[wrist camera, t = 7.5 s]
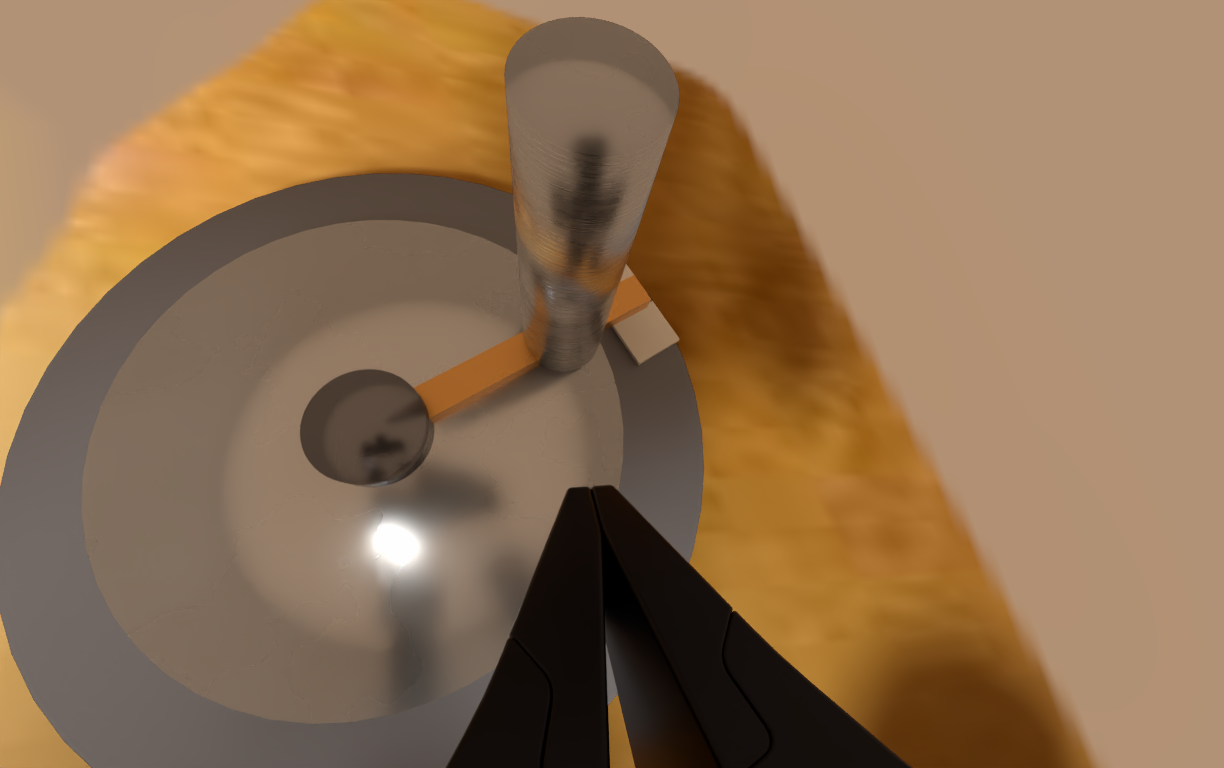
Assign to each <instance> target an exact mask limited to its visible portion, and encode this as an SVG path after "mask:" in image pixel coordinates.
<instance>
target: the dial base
mask: <svg viewBox="0 0 1224 768" xmlns="http://www.w3.org/2000/svg"><path fill="white" fill-rule="evenodd" d="M365 220H403V221H413V222H423V223H430V224H435V225H440V226H444V227H449V228H454V229H458V230H461V231H464V232H467V233H470V234H473V235H476V236H479V237H482V238H484V239H486V240H489V241H491V242H493V243H495V244H497V245H499V246H502V247H504V248H506V249H508V250H510V251H511V252H513V253H515V254H516V255H517V241H516V227H515V213H514V199H513V194H510V193H507V192H504V191H501V190H497V189H494V188H491V187H488V186H485V185H482V184H477V183H472V182H467V181H463V180H458V179H453V178H448V177H439V176H429V175H419V174H365V175H355V176H346V177H336V178H330V179H326V180H321V181H316V182H311V183H306V184H301V185H296V186H293V187H290V188H286V189H283V190H280V191H277V192H274V193H271V194H267V195H264V196H261V197H258V198H255V199H253V200H250V201H248V202H246V203H243V204H241V205H239V206H236V207H234V208H232V209H229V210H227V211H225V212H222V213H220V214H218V215H216V216H214V217H212V218H210V219H208V220H207V221H205V222H203V223H201V224H200V225H198V226H196V227H194V228H192V229H191V230H189V231H187V232H185V233H183V234H182V235H180V236H178V237H177V238H175V239H174V240H172V241H171V242H170V243H168V244H167V245H165V246H164V247H162V248H161V249H160V250H158V251H157V252H155V253H154V254H153V255H151V256H150V257H148V258H147V259H145V260H144V261H143V262H141V263H140V264H139V265H138V266H137V267H136V268H134V269H133V270H132V271H131V272H130V273H129V274H128V275H127V276H125V277H124V278H123V279H122V280H121V281H120V282H119V283H117V284H116V285H115V286H114V287H113V288H112V289H111V290H110V291H108V292H107V293H106V294H105V295H104V297H103V298H102V299H101V300H100V301H99V302H98V303H97V304H96V305H95V307H94V308H93V309H92V310H91V311H90V312H89V313H88V314H87V315H86V316H85V318H84V319H83V320H82V321H81V322H80V323H79V324H78V325H77V326H76V328H75V329H74V330H73V332H72V333H71V335H70V336H69V337H68V339H67V340H66V342H65V343H64V344H63V346H62V347H61V349H60V350H59V351H58V353H57V354H56V356H55V357H54V358H53V360H52V361H51V363H50V364H49V366H48V367H47V369H46V371H45V373H44V374H43V376H42V378H41V380H40V382H39V384H38V386H37V388H36V389H35V391H34V393H33V395H32V397H31V399H30V401H29V402H28V404H27V406H26V408H25V410H24V413H23V415H22V418H21V421H20V423H19V426H18V429H17V431H16V434H15V437H14V439H13V442H12V445H11V447H10V450H9V453H8V455H7V459H6V464H5V468H4V473H3V477H2V482H1V486H0V614H1V617H2V621H3V625H4V628H5V632H6V635H7V639H8V643H9V646H10V650H11V654H12V656H13V658H14V660H15V662H16V664H17V666H18V668H19V670H20V672H21V675H22V677H23V679H24V681H25V683H26V685H27V687H28V689H29V691H30V693H31V695H32V697H33V700H34V701H35V702H36V704H37V705H38V707H39V708H40V709H41V711H42V712H43V713H44V715H45V716H46V717H47V719H48V720H49V722H50V723H51V724H52V726H53V727H54V728H55V730H56V731H57V733H58V734H59V735H60V737H61V738H62V739H63V741H64V742H65V743H66V744H67V745H68V746H69V747H70V748H71V749H72V750H74V751H75V752H76V753H77V754H78V755H79V756H80V757H81V758H82V759H83V760H84V761H85V762H86V763H87V764H88V765H89V766H91V767H92V768H446V766H447V764H448V762H449V760H450V758H451V757H452V755H453V753H454V751H455V749H456V747H457V746H458V744H459V742H460V740H461V738H462V736H463V734H464V732H465V731H466V729H467V727H468V725H469V723H470V721H471V719H472V717H473V715H474V713H475V711H476V709H477V707H478V705H479V703H480V701H481V699H482V697H483V695H484V693H485V690H486V688H487V686H488V684H489V681H490V679H491V677H492V675H493V672H494V670H495V669H493V670H492V671H490V672H488V673H487V674H485V675H484V676H482V677H481V678H479V679H477V680H476V681H474V682H473V683H471V684H470V685H468V686H465V687H463V688H461V689H459V690H457V691H455V692H453V693H451V694H448V695H446V696H444V697H442V698H440V699H438V700H436V701H434V702H431V703H428V704H425V705H422V706H419V707H416V708H412V709H409V710H406V711H403V712H400V713H397V714H394V715H389V716H383V717H378V718H372V719H367V720H361V721H356V722H342V723H318V724H309V723H299V722H290V721H280V720H271V719H267V718H263V717H259V716H255V715H251V714H248V713H244V712H240V711H236V710H232V709H230V708H228V707H225V706H223V705H221V704H218V703H216V702H214V701H212V700H209V699H207V698H205V697H203V696H200V695H198V694H196V693H194V692H193V691H191V690H190V689H188V688H187V687H185V686H184V685H182V684H181V683H179V682H177V681H176V680H174V679H173V678H171V677H170V676H168V675H167V674H165V673H164V672H162V671H161V670H160V669H159V668H158V667H157V666H156V665H155V664H154V663H153V662H152V661H151V660H150V659H149V658H148V657H147V656H146V655H144V654H143V653H142V652H141V651H140V650H139V649H138V648H137V647H136V646H135V645H134V643H133V642H132V641H131V639H130V638H129V637H128V635H127V634H126V633H125V631H124V630H123V629H122V627H121V626H120V625H119V623H118V622H117V621H116V619H115V618H114V617H113V615H112V613H111V611H110V609H109V607H108V605H107V603H106V601H105V599H104V597H103V595H102V593H101V591H100V589H99V587H98V585H97V583H96V580H95V576H94V573H93V570H92V566H91V563H90V560H89V556H88V553H87V550H86V544H85V536H84V528H83V520H82V512H81V509H82V482H83V471H84V466H85V461H86V456H87V450H88V445H89V440H90V437H91V434H92V431H93V428H94V425H95V422H96V419H97V416H98V413H99V410H100V408H101V405H102V403H103V401H104V399H105V397H106V395H107V393H108V391H109V389H110V387H111V385H112V383H113V381H114V379H115V377H116V375H117V373H118V371H119V370H120V368H121V367H122V365H123V364H124V362H125V361H126V359H127V358H128V356H129V355H130V353H131V352H132V351H133V349H134V348H135V346H136V345H137V343H138V342H139V341H140V340H141V338H142V337H143V336H144V335H145V334H146V333H147V331H148V330H149V329H150V328H151V327H152V326H153V324H154V323H155V322H156V321H157V320H158V319H159V318H160V316H161V315H162V314H163V313H165V312H166V311H167V310H168V309H169V308H170V307H171V306H172V305H173V304H174V303H175V302H176V301H178V300H179V299H180V298H181V297H182V296H183V295H184V294H185V293H186V292H187V291H189V290H190V289H192V288H193V287H194V286H196V285H197V284H198V283H200V282H201V281H202V280H204V279H205V278H207V277H208V276H209V275H211V274H212V273H213V272H215V271H216V270H218V269H220V268H222V267H223V266H225V265H227V264H228V263H230V262H232V261H234V260H235V259H237V258H239V257H240V256H242V255H244V254H246V253H248V252H250V251H253V250H255V249H257V248H259V247H262V246H264V245H266V244H268V243H271V242H273V241H275V240H278V239H281V238H284V237H287V236H290V235H293V234H296V233H299V232H302V231H306V230H310V229H315V228H319V227H324V226H328V225H333V224H338V223H347V222H356V221H365ZM633 275H634V274H633V273H632V271H631V270H630V268H629V267H628V266H627V264H626V266H625V269H624V272H623V275H622V278H621V280H620V282H621V281H623V280H625V279H627V278H629V277H631V276H633ZM644 290H645V289H644ZM646 293H647V292H646ZM648 295H649V294H648ZM649 297H650V296H649ZM650 298H651V297H650ZM679 340H680V339H679V337H678V336H677V334H676V333H675V332H674V330H673V329H672V327H671V326H670V325H669V323H668V322H667V320H666V319H665V318H664V316H663V315H662V313H661V312H660V311H659V309H658V308H657V306H656V305H655V303H654V302H653V301H652V298H651V300H650V302H649V304H648V306H647V308H645V309H643V310H641V311H640V312H638V313H636V314H634V315H632V316H630V317H628V318H627V319H625V320H623V321H621V322H619V323H617V324H616V325H614V326H612V327H610V328H608V329H606V330H604V331H603V334H602V337H601V340H600V343H601V345H602V347H603V350H604V352H605V355H606V357H607V360H608V362H609V364H610V367H611V369H612V372H613V376H614V380H615V383H616V387H617V391H618V395H619V399H620V406H621V414H622V422H623V462H622V470H621V477H620V484H619V490H618V491H619V492H620V493H621V494H622V495H623V496H624V497H625V498H626V499H627V500H628V501H629V502H630V503H631V504H632V505H633V506H634V507H635V508H636V509H637V510H638V511H639V512H640V513H641V515H642V516H643V517H644V518H645V519H646V520H647V521H648V522H649V523H650V524H651V525H652V526H653V527H654V528H655V529H656V530H657V531H658V532H659V533H660V534H661V535H662V536H663V537H664V538H665V539H666V540H667V541H668V542H669V543H670V544H671V545H672V546H673V547H674V548H675V549H676V550H677V551H678V552H679V553H680V554H681V556H682V557H683V558H684V559H685V560H686V561H687V562H688V563H689V561H690V558H691V555H692V552H693V548H694V543H695V538H696V533H697V528H698V523H699V518H700V512H701V504H702V490H703V475H704V462H703V444H702V429H701V424H700V418H699V413H698V408H697V402H696V397H695V393H694V389H693V386H692V383H691V380H690V377H689V374H688V371H687V367H686V364H685V361H684V359H683V356H682V354H681V352H680V350H679V348H678V346H677V343H676V342H678V341H679ZM606 665H607V695H608V705H609V704H610V702H611V701H612V700H613V699H614V697H615V696H616V695H617V694H618V692H617V687H616V683H615V679H614V675H613V670H612V666H611V662H610V658H609V654H608V649H607V645H606Z"/></svg>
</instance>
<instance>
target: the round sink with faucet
mask: <svg viewBox="0 0 1224 768" xmlns="http://www.w3.org/2000/svg"><path fill="white" fill-rule="evenodd" d="M505 88H506V102H507V116H508V130H509V144H510V158H511V171H512V185H513V199H514V213H515V227H516V241H517V255H516V254H515V253H513V252H511V251H510V250H508V249H506V248H504V247H502V246H499V245H497V244H495V243H493V242H491V241H489V240H486V239H484V238H482V237H479V236H476V235H473V234H470V233H467V232H464V231H461V230H458V229H454V228H449V227H444V226H440V225H435V224H430V223H423V222H413V221H403V220H365V221H356V222H347V223H338V224H333V225H328V226H324V227H319V228H315V229H310V230H306V231H302V232H299V233H296V234H293V235H290V236H287V237H284V238H281V239H278V240H275V241H273V242H271V243H268V244H266V245H264V246H262V247H259V248H257V249H255V250H253V251H250V252H248V253H246V254H244V255H242V256H240V257H239V258H237V259H235V260H234V261H232V262H230V263H228V264H227V265H225V266H223V267H222V268H220V269H218V270H216V271H215V272H213V273H212V274H211V275H209V276H208V277H207V278H205V279H204V280H202V281H201V282H200V283H198V284H197V285H196V286H194V287H193V288H192V289H190V290H189V291H187V292H186V293H185V294H184V295H183V296H182V297H181V298H180V299H179V300H178V301H176V302H175V303H174V304H173V305H172V306H171V307H170V308H169V309H168V310H167V311H166V312H165V313H163V314H162V315H161V316H160V318H159V319H158V320H157V321H156V322H155V323H154V324H153V326H152V327H151V328H150V329H149V330H148V331H147V333H146V334H145V335H144V336H143V337H142V338H141V340H140V341H139V342H138V343H137V345H136V346H135V348H134V349H133V351H132V352H131V353H130V355H129V356H128V358H127V359H126V361H125V362H124V364H123V365H122V367H121V368H120V370H119V371H118V373H117V375H116V377H115V379H114V381H113V383H112V385H111V387H110V389H109V391H108V393H107V395H106V397H105V399H104V401H103V403H102V405H101V408H100V410H99V413H98V416H97V419H96V422H95V425H94V428H93V431H92V434H91V437H90V440H89V445H88V450H87V456H86V461H85V466H84V471H83V482H82V509H81V512H82V520H83V528H84V536H85V544H86V550H87V553H88V556H89V560H90V563H91V566H92V570H93V573H94V576H95V580H96V583H97V585H98V587H99V589H100V591H101V593H102V595H103V597H104V599H105V601H106V603H107V605H108V607H109V609H110V611H111V613H112V615H113V617H114V618H115V619H116V621H117V622H118V623H119V625H120V626H121V627H122V629H123V630H124V631H125V633H126V634H127V635H128V637H129V638H130V639H131V641H132V642H133V643H134V645H135V646H136V647H137V648H138V649H139V650H140V651H141V652H142V653H143V654H144V655H146V656H147V657H148V658H149V659H150V660H151V661H152V662H153V663H154V664H155V665H156V666H157V667H158V668H159V669H160V670H161V671H162V672H164V673H165V674H167V675H168V676H170V677H171V678H173V679H174V680H176V681H177V682H179V683H181V684H182V685H184V686H185V687H187V688H188V689H190V690H191V691H193V692H194V693H196V694H198V695H200V696H203V697H205V698H207V699H209V700H212V701H214V702H216V703H218V704H221V705H223V706H225V707H228V708H230V709H232V710H236V711H240V712H244V713H248V714H251V715H255V716H259V717H263V718H267V719H271V720H280V721H290V722H299V723H309V724H318V723H342V722H356V721H361V720H367V719H372V718H378V717H383V716H389V715H394V714H397V713H400V712H403V711H406V710H409V709H412V708H416V707H419V706H422V705H425V704H428V703H431V702H434V701H436V700H438V699H440V698H442V697H444V696H446V695H448V694H451V693H453V692H455V691H457V690H459V689H461V688H463V687H465V686H468V685H470V684H471V683H473V682H474V681H476V680H477V679H479V678H481V677H482V676H484V675H485V674H487V673H488V672H490V671H492V670H493V669H495V668H496V665H497V663H498V661H499V658H500V656H501V653H502V651H503V648H504V646H505V643H506V641H507V639H508V638H509V634H510V632H511V629H512V627H513V624H514V622H515V619H516V617H517V614H518V612H519V609H520V607H521V604H522V602H523V599H524V596H525V594H526V591H527V589H528V586H529V584H530V581H531V579H532V576H533V574H534V571H535V569H536V566H537V564H538V561H539V559H540V556H541V554H542V551H543V549H544V546H545V544H546V541H547V539H548V536H549V534H550V531H551V529H552V526H553V524H554V521H555V519H556V516H557V514H558V511H559V509H560V506H561V504H562V501H563V499H564V496H565V494H566V491H567V490H568V489H569V488H571V487H584V486H587V487H589V488H590V489H591V488H592V487H593V486H599V485H612V486H614V487H615V488H616V489H617V490H619V484H620V477H621V470H622V462H623V422H622V414H621V406H620V399H619V395H618V391H617V387H616V383H615V380H614V376H613V372H612V369H611V367H610V364H609V362H608V360H607V357H606V355H605V352H604V350H603V347H602V345H601V343H600V340H601V337H602V334H603V331H604V330H606V329H608V328H610V327H612V326H614V325H616V324H617V323H619V322H621V321H623V320H625V319H627V318H628V317H630V316H632V315H634V314H636V313H638V312H640V311H641V310H643V309H645V308H647V306H648V304H649V302H650V300H651V298H650V297H649V295H648V294H647V293H646V291H645V290H644V288H643V287H642V285H641V284H640V282H639V281H638V280H637V278H636V277H635V275H633V276H631V277H629V278H627V279H625V280H623V281H621V282H620V280H621V278H622V275H623V272H624V269H625V266H626V263H627V260H628V257H629V254H630V251H631V248H632V245H633V242H634V239H635V236H636V233H637V230H638V227H639V224H640V221H641V218H642V215H643V212H644V209H645V206H646V203H647V200H648V197H649V194H650V191H651V188H652V185H653V182H654V179H655V176H656V173H657V170H658V167H659V164H660V161H661V158H662V155H663V152H664V149H665V147H666V144H667V141H668V138H669V135H670V132H671V129H672V126H673V123H674V120H675V117H676V114H677V110H678V106H679V88H678V83H677V80H676V77H675V74H674V72H673V70H672V68H671V66H670V64H669V63H668V61H667V60H666V59H665V57H664V56H663V55H662V54H661V53H660V51H659V50H658V49H657V48H656V47H654V46H653V45H652V44H651V43H650V42H649V41H647V40H646V39H645V38H643V37H642V36H640V35H639V34H637V33H635V32H633V31H631V30H629V29H627V28H625V27H623V26H620V25H618V24H615V23H612V22H609V21H605V20H600V19H594V18H585V17H572V18H571V17H569V18H562V19H556V20H552V21H549V22H546V23H543V24H541V25H539V26H537V27H535V28H533V29H531V30H530V31H528V32H527V33H526V34H524V35H523V36H522V37H521V38H520V39H519V40H518V41H517V42H516V44H515V45H514V46H513V48H512V49H511V51H510V53H509V55H508V58H507V61H506V65H505Z"/></svg>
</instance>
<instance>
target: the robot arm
mask: <svg viewBox="0 0 1224 768" xmlns="http://www.w3.org/2000/svg"><path fill="white" fill-rule="evenodd" d="M606 645H607V649H608V654H609V658H610V662H611V666H612V670H613V675H614V679H615V683H616V687H617V692H618V696H619V700H620V704H621V709H622V713H623V717H624V721H625V725H626V730H627V734H628V738H629V742H630V747H631V751H632V755H633V759H634V764H635V768H913V767H911V766H910V765H908V764H907V763H906V762H905V761H903V760H902V759H901V758H900V757H898V756H897V755H896V754H895V753H893V752H892V751H891V750H890V749H889V748H888V747H886V746H885V745H884V744H883V743H882V742H881V741H879V740H878V739H877V738H876V737H875V736H873V735H872V734H871V733H870V732H869V731H868V730H866V729H865V728H864V727H863V726H862V725H861V724H859V723H858V722H857V721H856V720H855V719H854V718H852V717H851V716H850V715H849V714H848V713H846V712H845V711H844V710H843V709H842V708H841V707H839V706H838V705H837V704H836V703H835V702H834V701H832V700H831V699H830V698H829V697H828V696H827V695H825V694H824V693H823V692H822V691H821V690H819V689H818V688H817V687H816V686H815V685H814V684H812V683H811V682H810V681H809V680H808V679H807V678H806V677H804V676H803V675H802V674H801V673H800V672H799V671H798V670H797V669H795V668H794V667H793V666H792V665H791V664H790V663H789V662H788V661H786V660H785V659H784V658H783V657H782V656H781V655H780V654H779V653H778V652H777V651H776V650H775V649H773V648H772V647H771V646H770V645H769V644H768V643H767V642H766V641H765V640H764V639H763V638H762V637H761V636H760V635H759V634H758V633H757V632H756V631H755V630H754V629H753V628H752V627H751V626H750V625H749V624H748V623H747V622H746V621H745V620H744V619H743V618H742V617H741V616H740V615H739V614H738V613H737V612H736V611H733V612H732V607H731V606H730V605H729V604H728V603H727V602H726V601H725V600H724V599H723V598H722V597H721V595H720V594H719V593H718V592H717V591H716V590H715V589H714V588H713V587H712V586H711V585H710V584H709V583H708V582H707V581H706V580H705V579H704V578H703V577H702V576H701V575H700V574H699V573H698V572H697V571H696V570H695V569H694V568H693V567H692V566H691V565H690V564H689V563H688V562H687V561H686V560H685V559H684V558H683V557H682V556H681V554H680V553H679V552H678V551H677V550H676V549H675V548H674V547H673V546H672V545H671V544H670V543H669V542H668V541H667V540H666V539H665V538H664V537H663V536H662V535H661V534H660V533H659V532H658V531H657V530H656V529H655V528H654V527H653V526H652V525H651V524H650V523H649V522H648V521H647V520H646V519H645V518H644V517H643V516H642V515H641V513H640V512H639V511H638V510H637V509H636V508H635V507H634V506H633V505H632V504H631V503H630V502H629V501H628V500H627V499H626V498H625V497H624V496H623V495H622V494H621V493H620V492H619V491H618V490H617V489H616V488H615V487H614V486H612V485H599V486H593V487H592V488H591V489H590V488H589V487H587V486H584V487H571V488H569V489H568V490H567V491H566V494H565V496H564V499H563V501H562V504H561V506H560V509H559V511H558V514H557V516H556V519H555V521H554V524H553V526H552V529H551V531H550V534H549V536H548V539H547V541H546V544H545V546H544V549H543V551H542V554H541V556H540V559H539V561H538V564H537V566H536V569H535V571H534V574H533V576H532V579H531V581H530V584H529V586H528V589H527V591H526V594H525V596H524V599H523V602H522V604H521V607H520V609H519V612H518V614H517V617H516V619H515V622H514V624H513V627H512V629H511V632H510V634H509V638H508V639H507V641H506V643H505V646H504V648H503V651H502V653H501V656H500V658H499V661H498V663H497V665H496V668H495V670H494V672H493V675H492V677H491V679H490V681H489V684H488V686H487V688H486V690H485V693H484V695H483V697H482V699H481V701H480V703H479V705H478V707H477V709H476V711H475V713H474V715H473V717H472V719H471V721H470V723H469V725H468V727H467V729H466V731H465V732H464V734H463V736H462V738H461V740H460V742H459V744H458V746H457V747H456V749H455V751H454V753H453V755H452V757H451V758H450V760H449V762H448V764H447V766H446V768H610V755H609V725H608V695H607V665H606Z"/></svg>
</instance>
